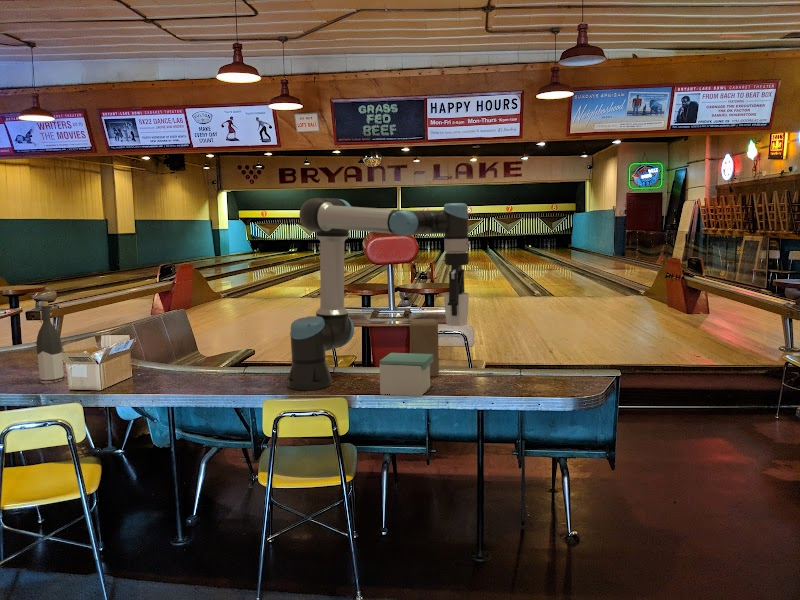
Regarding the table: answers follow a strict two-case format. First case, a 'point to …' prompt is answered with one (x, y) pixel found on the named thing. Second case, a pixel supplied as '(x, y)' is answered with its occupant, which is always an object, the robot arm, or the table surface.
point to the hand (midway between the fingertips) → (457, 323)
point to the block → (425, 341)
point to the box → (404, 379)
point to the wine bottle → (49, 349)
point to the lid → (408, 359)
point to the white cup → (462, 308)
